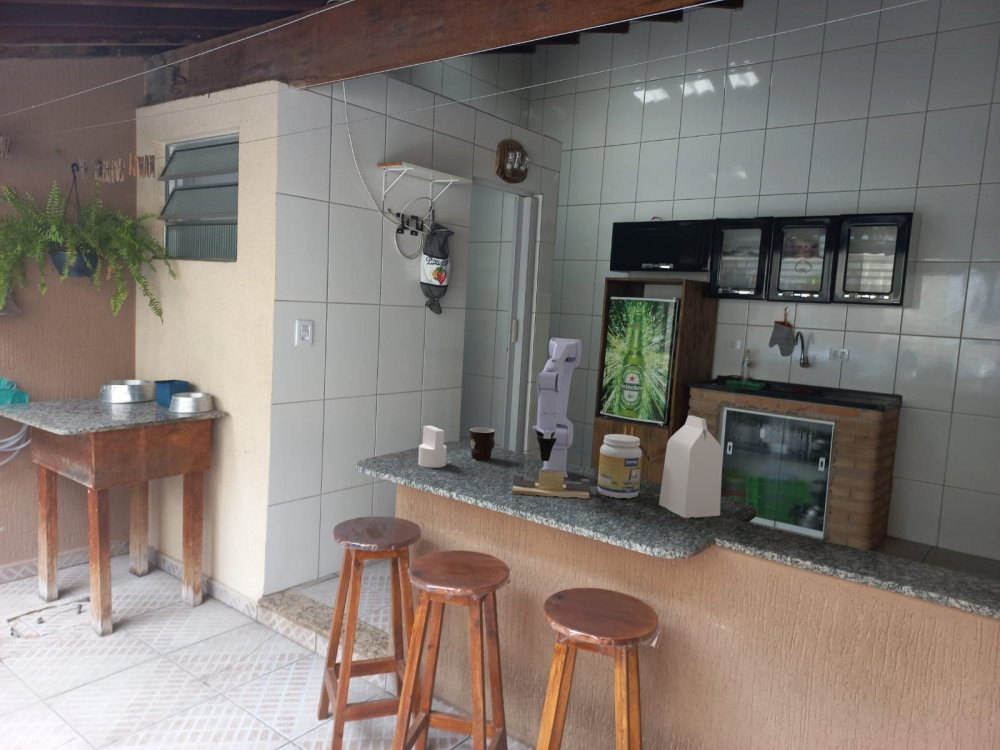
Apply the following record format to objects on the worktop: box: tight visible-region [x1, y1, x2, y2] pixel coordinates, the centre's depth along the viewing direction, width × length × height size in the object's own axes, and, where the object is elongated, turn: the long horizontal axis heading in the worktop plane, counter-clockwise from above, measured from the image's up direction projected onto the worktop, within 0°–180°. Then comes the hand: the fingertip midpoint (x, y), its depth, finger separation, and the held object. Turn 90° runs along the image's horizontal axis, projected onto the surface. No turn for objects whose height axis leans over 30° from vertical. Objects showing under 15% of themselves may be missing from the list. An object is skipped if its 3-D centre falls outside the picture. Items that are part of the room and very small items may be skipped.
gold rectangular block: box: [538, 468, 565, 491], centre depth 203 cm, size 4×7×5 cm, turn 88°
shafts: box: [512, 473, 591, 493], centre depth 204 cm, size 4×22×3 cm, turn 88°
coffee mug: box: [469, 427, 496, 461], centre depth 237 cm, size 12×9×10 cm
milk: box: [658, 415, 723, 519], centre depth 190 cm, size 12×12×26 cm
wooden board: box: [512, 482, 591, 499], centre depth 203 cm, size 10×22×1 cm, turn 88°
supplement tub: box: [597, 433, 643, 499], centre depth 203 cm, size 12×12×17 cm
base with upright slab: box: [418, 425, 448, 469], centre depth 227 cm, size 9×9×12 cm
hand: (544, 457), depth 205 cm, fingers open, 7 cm apart
